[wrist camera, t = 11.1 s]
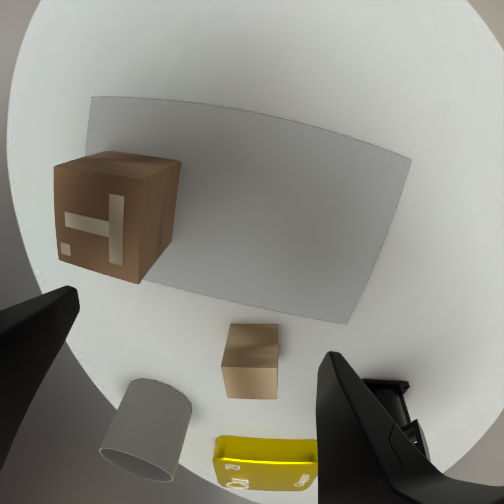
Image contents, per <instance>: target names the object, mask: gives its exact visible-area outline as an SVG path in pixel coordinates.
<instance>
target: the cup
mask: <svg viewBox="0 0 504 504" xmlns="http://www.w3.org/2000/svg"><path fill="white" fill-rule="evenodd" d="M191 413H192V406H191V402H190V401H189V400H188V399H187V398H186V396H185V395H184V394H183V393H181V392H179V391H178V390H176V389H175V388H173V387H172V386H170V385H167V384H164V383H162V382H159V381H156V380H151V379H142V378H140V379H137V380H134V381H131V383H130V385H129V387H128V389H127V391H126V393H125V395H124V397H123V399H122V401H121V403H120V406H119V408H118V410H117V412H116V414H115V416H114V419H113V421H112V423H111V425H110V427H109V430H108V432H107V434H106V436H105V439H104V441H103V444H102V445H101V448H100V450H99V452H100V453H101V455H102V456H103V457H104V458H105V459H106V460H108V461H109V462H111V463H112V464H113V465H115V466H117V467H119V468H121V469H122V470H124V471H126V472H129V473H131V474H134V475H136V476H139V477H142V478H145V479H149V480H153V481H159V482H170V481H172V480H174V476H175V472H176V469H177V464H178V461H179V457H180V454H181V450H182V446H183V442H184V439H185V435H186V431H187V428H188V424H189V420H190V417H191Z"/></svg>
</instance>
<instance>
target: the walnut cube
mask: <svg viewBox="0 0 504 504" xmlns="http://www.w3.org/2000/svg"><path fill="white" fill-rule="evenodd" d="M181 162H182V161H178V160H172V159H165V158H159V157H152V156H145V155H138V154H131V153H123V152H115V151H103V152H100V153H96V154H92V155H89V156H85V157H82V158H79V159H75V160H72V161H69V162H66V163H63V164H60V165H57V166H54V210H55V226H56V238H57V248H58V256H59V260H61V261H64V262H67V263H70V264H73V265H76V266H79V267H82V268H85V269H89V270H92V271H95V272H98V273H101V274H105V275H108V276H111V277H115V278H118V279H121V280H125V281H128V282H132V283H135V284H139V283H140V282H141V280H142V279H143V278H144V276H145V275H146V274H147V272H148V271H149V270H150V269H151V267H152V266H153V265H154V263H155V262H156V261H157V260H158V258H159V257H160V256H161V255H162V253H163V252H164V251H165V250H166V248H167V247H168V246H169V245H170V243H171V242H172V235H173V225H174V215H175V207H176V198H177V191H178V183H179V176H180V169H181Z"/></svg>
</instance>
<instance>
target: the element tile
mask: <svg viewBox="0 0 504 504" xmlns="http://www.w3.org/2000/svg"><path fill="white" fill-rule="evenodd" d="M213 465H214V469H215V472H216V476H217V479H218V483H219V484H220V485H222V486H223V487H228V488H236V489H249V490H266V491H303V490H305V489H307V488H308V487H309V486H310V485H311V484H312V482H313V481H314V479H315V478H316V476H317V475H318V456H317V440H285V439H262V438H248V437H237V436H220V437H218V438H217V440H216V445H215V450H214V455H213Z"/></svg>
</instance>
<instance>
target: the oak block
mask: <svg viewBox="0 0 504 504" xmlns="http://www.w3.org/2000/svg"><path fill="white" fill-rule="evenodd" d="M221 369H222V374H223V379H224V384H225V389H226V393H227V398H239V399H277V383H278V324H230V329H229V333H228V337H227V342H226V346H225V351H224V355H223V360H222V364H221Z"/></svg>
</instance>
